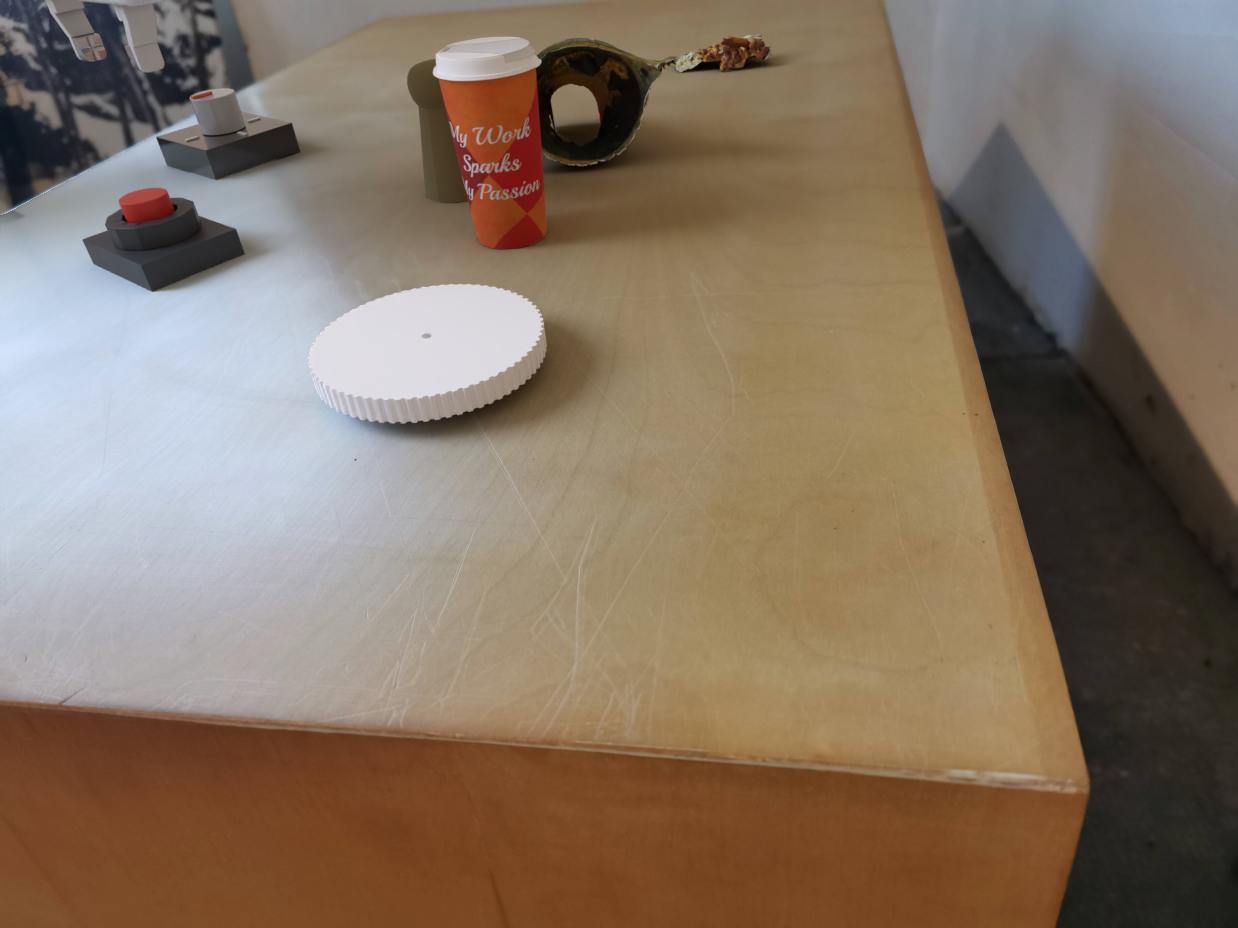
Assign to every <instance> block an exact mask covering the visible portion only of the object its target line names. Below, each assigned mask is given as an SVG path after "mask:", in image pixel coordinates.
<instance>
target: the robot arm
mask: <svg viewBox="0 0 1238 928" xmlns="http://www.w3.org/2000/svg"><path fill="white" fill-rule="evenodd" d="M163 1H165V0H44V2H45V4H46V5H47V8H48V10H49V13H50V14H51V16H52V17H53V19H54V20H55V21H56V23H57V24H58V26H59V27H60V28H61V30H62V32H64V34H65V35H66V36H67V38H68V39H69V41H70V44H71V47H72V49H73V51H74V52H75V53H74V54H75V56H76V57H77V58H78V59H79V60H80V61H83V62H89V63H93V62H94V63H95V62H97V61H102V60H106V58H107V56H108V53H107V50H106V48H105V46H104V43H103V39H102V37H101V35H100V33H97V32H95V30H94V28H93V27H92V25H91V23H90V21H89V19H88V18H87V16H86V14H85V11H84V10H83V9H85V5H84V3H95V4H104V5H112V6H113V9H114V12H115V14H116V17H117V19H118V21H119V22H122V23H123V27H124V31H125V36H126V39H127V44H128V45H124V49H125V51H126V54H127V56H128V58H129V59H130V64H131V66H132V68H133V69H134V70H136V71H138V72H141V73H142V72H143V73H149V74H150V73H153V72H156V71H160V70H162V69H164V68H165V60H164V57H163V55H162V51H161V49H160V46H159V43H158V41H159V40H158V39H159V38H158V19H157V17H158V16H157V14H156V11H155V8H154V5H153V4H156V3H159V2H163Z"/></svg>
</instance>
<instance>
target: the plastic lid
mask: <svg viewBox="0 0 1238 928" xmlns="http://www.w3.org/2000/svg"><path fill="white" fill-rule="evenodd" d="M545 329H546V328H545V323H544V318H543V314H542V313H541V310H540V309H539V308H538V307H537V305H536V304H534V302H533V301H530V300H529V298H528V297H525V298H524V296H523V295H522V294H518V293H517V292H515V291H514V292H512V290H510V289H507V290H506V289H504V288H503V287H500V288H497V286H495V285H494V286H489V285H487V284H484V285H481V284H480V283H479V284H477V283H476V284H472V283H467V284H464V283H458V284H454V283H449V284H443V283H442V284H439V285H434V284H433V285H430V286H427V287H426V286H421V287H419V288H416V287H414V288H411V289H409V290H407V289H405V290H402V291H401V292H393V293H392V294H387V295H383V296H382V297H377V298H375V299H374V300H371V301H370V300H369V301H367V302H366V303H365V304H360V305H358V307H357V308H352V309H350V310H349V312H345V313H343V314H342V316H339V317H337V318H335V321H331V322H330V323H329V325H327V326H325V327H324V329H323V330H321V331H320V332H319V335H317V336H316V337H315V340H314V341H312V343H311V345H310V347H309V351H307V355H308V356H307V357H306V358H307V366H308V370H309V373H310V377H311V378H312V382H313V385H314V388H315V390H316V392H317V395H318V397H320V399H321V401H322V402H324V404H325V405H326V406H329V408H330V409H332V410H334V409H335V411H336V412H337V413H342V414H343V415H344V416H350V418H352V419H356V418H359V420H360V421H366V420H368V422H370V423H374V422H376V421H377V422H379V424H384V423H386V422H387V423H388V422H389V424H396V423H400V424H406V423H408V422H409V423H410V422H411V423H412V424H417V423H418V422H422V421H423V422H424V423H426V422H429V421H430V420H434V421H439V420H441V419H442V418H446V419H448V418H452V416H454V415H457V416H460V415H463V414H464V413H465V412H468V413H470V412H473V411H474V410H475V409H482V408H484V407H485V405H487V404H488V405H491V404H493V403H494V401H496V400H502V399H503V398H504V396H508V395H511V394H512V391H517V390H518V389H519V387H520V386H523V385H525V384H526V381H527V380H531V378H532V375H535V374H536V373H537V370H538V369H541V364H543V362H544V358H546V353H547V347H548V344H547V336H546V330H545Z"/></svg>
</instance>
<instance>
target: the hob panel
mask: <svg viewBox="0 0 1238 928" xmlns="http://www.w3.org/2000/svg"><path fill="white" fill-rule="evenodd" d="M241 112H242V115H243V119H244V122H245V127H244V128H242V129H241V130H238V131H236V132H232V133H228V134H223V135H204V134H202V132H201V129H200V126H199V124H194V125H190V126H188V127H187V126H186V127H183V128H180V129H176V130H174V131H170V132H167V133H163V134H160V135H157V136H155V139H156V141H157V143H158V146H159V148H160V151H161V154H162V156H163V159H164V162H165V164H166V166H168V167H171V168H174V169H177V170H181V171H184V172H188V173H191V174H194V175H198V176H201V177H205V178H208V179H211V180H214V181H218V180H220V179H224V178H226V177H229V176H232V175H235V174H238V173H240V172H243V171H246V170H249V169H253V168H256V167H258V166H261V165H264V164H267V163H270V162H273V161H276V160H279V159H282V158H285V157H288V156H291V155H294V154H296V153H301V149H300V145H299V142H298V139H297V134H296V131H295V128H294V126H293V122H291V121H286V120H281V119H276V118H272V117H268V116H263V115H258V114H254V113H249V112H245V111H241Z"/></svg>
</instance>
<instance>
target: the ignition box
mask: <svg viewBox="0 0 1238 928" xmlns="http://www.w3.org/2000/svg"><path fill="white" fill-rule="evenodd" d="M170 199H171V202H172V204H173V207H174V209H175V212H173V213H172V214H170V215H168V216H165V217H162V218H159V219H156V220H152V221H147V222H141V223H127V221H126V218H125V216H124V214H123V211H122V209H121V208H120V209H118V210H116V211H115V212H113V213H112V214H110V215H108V216H106V220H105V223H104V226H105V228H106V230H105V231H102V232H98V233H96V234H94V235H90V236H88V237H84V238H83V239H82V240H81V241H82V243H83V245H84V247H85V249H86V251H87V252H88V255H89V257H90V259H91V262H92V264H93V265H94V266H96V267H98V268H101V269H102V270H105V271H107V272H109V273H111V274H113V275H116V276H118V277H120V278H121V279H124V280H126V281H128V282H130V283H133V284H135V285H137V286H139V287H141V288H143V289H145V290H147V291H150V292H152V293H153V292H156V291H158V290H160V289H163V288H165V287H168V286H171V285H173V284H176V283H178V282H180V281H183V280H185V279H187V278H191V277H193V276H195V275H198V274H199V273H202V272H205V271H207V270H210V269H212V268H214V267H217V266H219V265H222V264H224V263H226V262H230V261H231V260H232V261H233V259H236V258H239V257H241V256H244V255H245V254H246V253H245V250H244V247H243V244H242V242H241V239H240V236H239V233H238V230H237V229H236V228H234V227H232V226H230V225H226V224H223V223H221V222H218V221H215V220H213V219H209V218H206V217H205V216H201V215H199V213H198V210H197V208H196V205H195V203H194V200H191V199H188V198H185V197H170Z"/></svg>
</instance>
